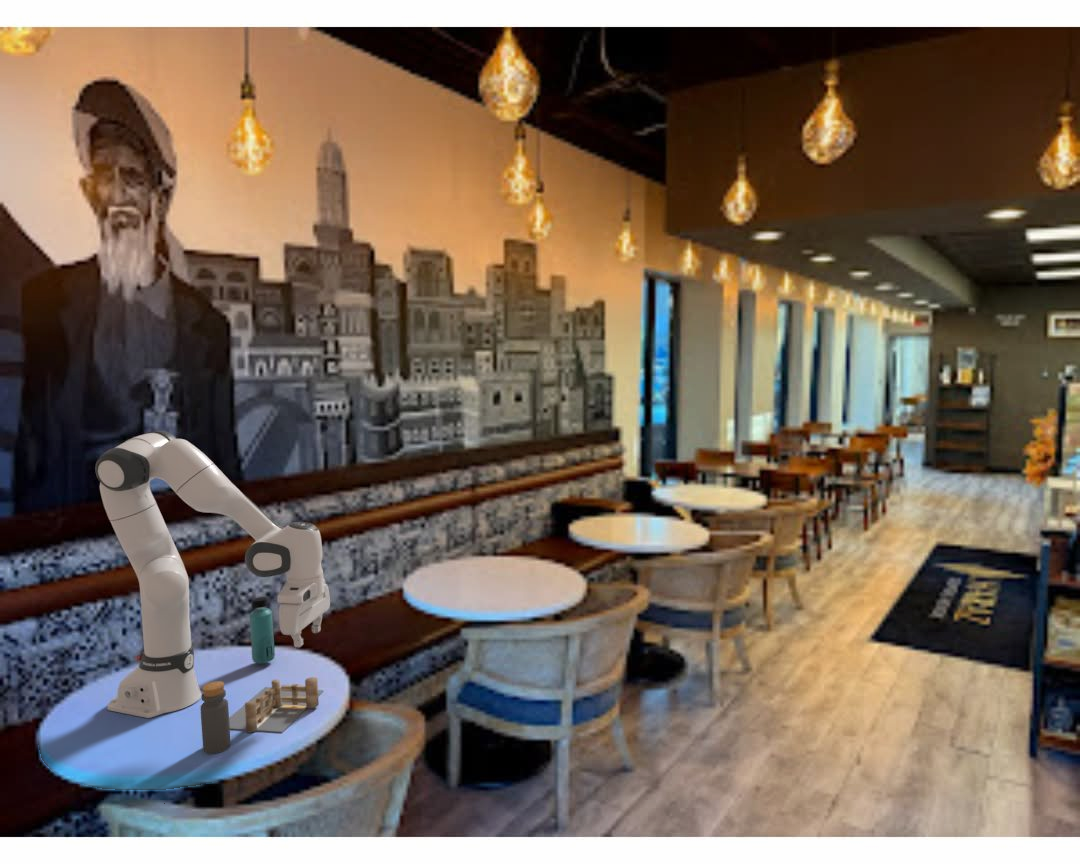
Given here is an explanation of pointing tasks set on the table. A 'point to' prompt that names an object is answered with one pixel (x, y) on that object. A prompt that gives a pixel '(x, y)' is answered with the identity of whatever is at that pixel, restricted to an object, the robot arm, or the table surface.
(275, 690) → the fence fixed
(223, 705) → the bottle
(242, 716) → the card
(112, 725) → the table surface
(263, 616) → the beverage bottle
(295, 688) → the fence gate
